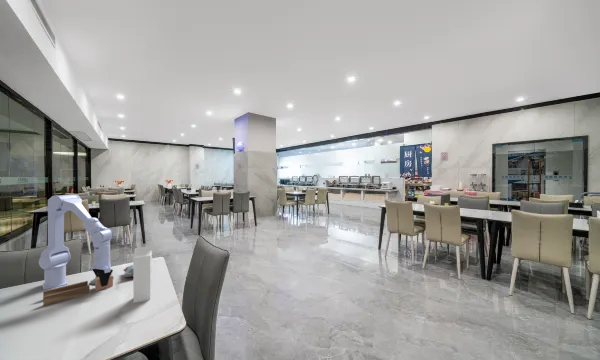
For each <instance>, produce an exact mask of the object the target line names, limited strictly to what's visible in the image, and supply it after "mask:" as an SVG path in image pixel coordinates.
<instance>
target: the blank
mask: <svg viewBox="0 0 600 360" xmlns="http://www.w3.org/2000/svg"><path fill="white" fill-rule="evenodd" d="M113 277H114V275H113V274H112V273H111V275H110V277H109V281H108V284H107V285H106V286H103V287H102V286H101V283H100V279H99V277H96V276H95V277H94V279H95V285H94V289H95V290H96V291H99V290H104V289H107V288H112V287H114V279H113Z"/></svg>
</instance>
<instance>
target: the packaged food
mask: <svg viewBox="0 0 600 360" xmlns="http://www.w3.org/2000/svg"><path fill="white" fill-rule="evenodd" d="M123 272H124V273H123V274H122V277H125V278H131V277H133V264H132V265H128V266H126V267H125V268H124V269H123Z"/></svg>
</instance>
